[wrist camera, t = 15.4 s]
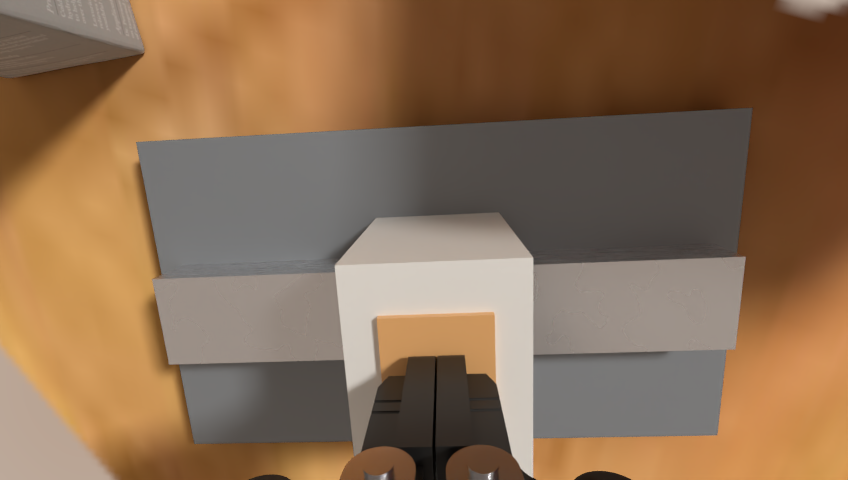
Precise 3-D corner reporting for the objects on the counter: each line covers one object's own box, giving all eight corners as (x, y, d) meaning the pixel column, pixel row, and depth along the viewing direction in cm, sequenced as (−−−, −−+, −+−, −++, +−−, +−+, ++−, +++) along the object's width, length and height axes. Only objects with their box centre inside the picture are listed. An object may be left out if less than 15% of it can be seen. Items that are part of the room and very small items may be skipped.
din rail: (704, 327, 18) (735, 349, 16) (196, 342, 20) (169, 364, 18) (712, 243, 18) (746, 256, 16) (182, 264, 19) (151, 279, 17)
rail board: (698, 414, 21) (717, 435, 19) (210, 423, 22) (194, 443, 21) (727, 110, 18) (752, 107, 16) (159, 141, 19) (136, 142, 18)
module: (375, 217, 18) (332, 267, 11) (498, 212, 18) (535, 259, 11) (387, 368, 19) (356, 497, 12) (501, 365, 19) (534, 495, 12)
